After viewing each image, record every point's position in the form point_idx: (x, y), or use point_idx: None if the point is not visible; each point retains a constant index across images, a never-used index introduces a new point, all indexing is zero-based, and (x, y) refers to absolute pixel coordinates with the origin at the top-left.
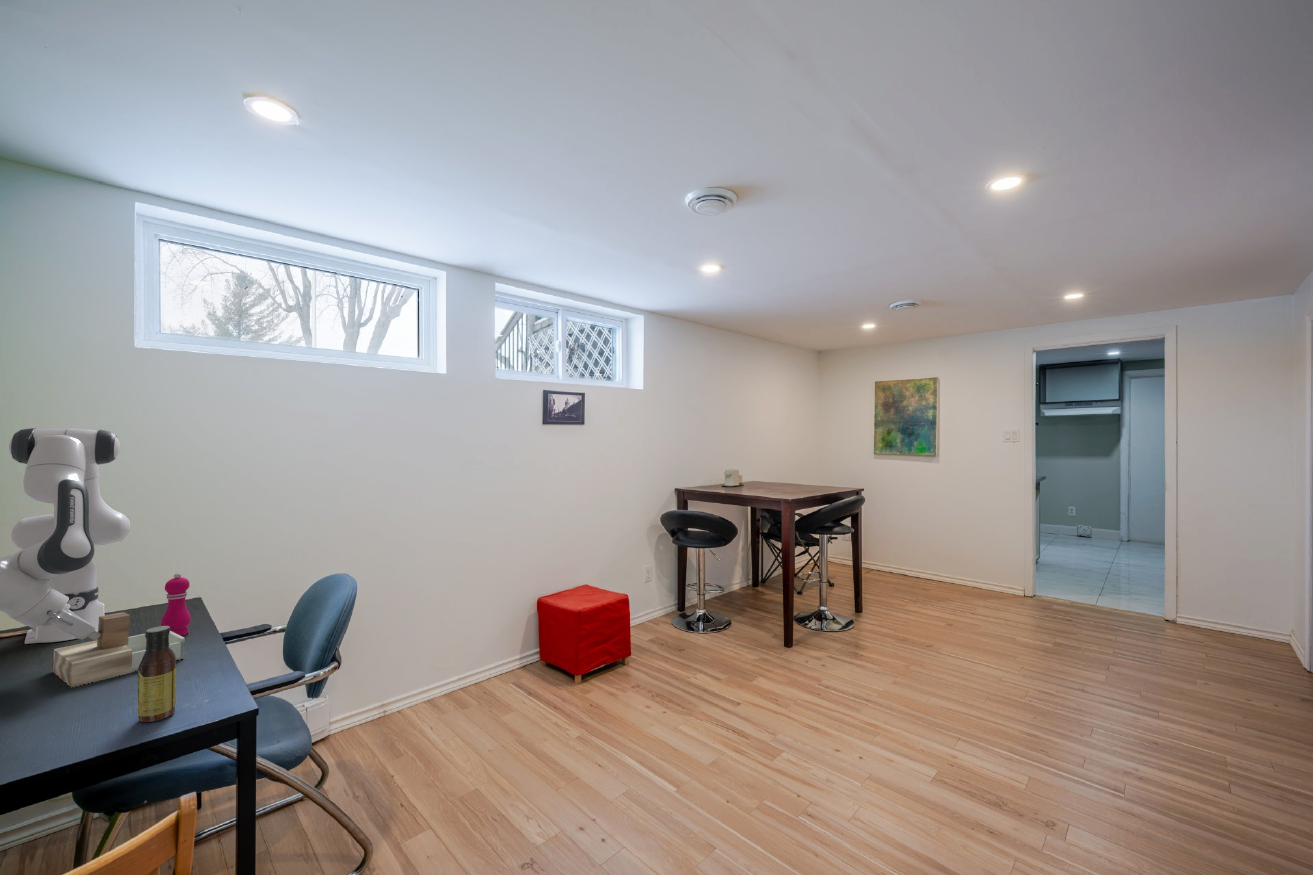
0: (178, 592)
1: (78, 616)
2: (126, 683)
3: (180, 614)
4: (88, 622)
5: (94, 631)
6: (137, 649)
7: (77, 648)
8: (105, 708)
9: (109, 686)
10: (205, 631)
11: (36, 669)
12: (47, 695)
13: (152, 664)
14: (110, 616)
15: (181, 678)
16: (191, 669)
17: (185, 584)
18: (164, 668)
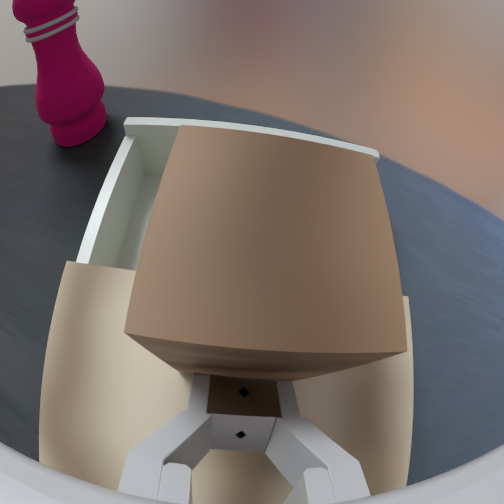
0: (68, 5)
1: (16, 499)
2: (440, 356)
3: (88, 68)
4: (458, 491)
5: (308, 425)
6: (126, 221)
7: (122, 432)
8: None
9: (430, 391)
10: (127, 91)
11: (15, 445)
12: None
13: None
14: (288, 257)
15: (479, 267)
16: (441, 230)
17: None
18: None
